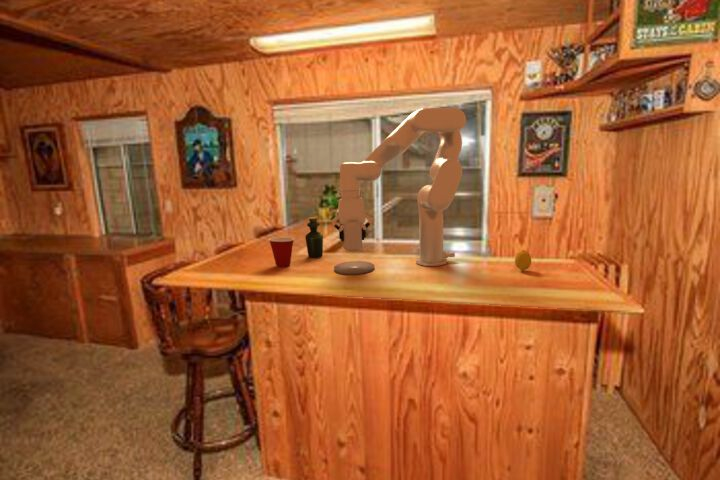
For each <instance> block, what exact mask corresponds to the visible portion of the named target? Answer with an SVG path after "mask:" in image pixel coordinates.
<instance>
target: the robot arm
mask: <svg viewBox="0 0 720 480" xmlns="http://www.w3.org/2000/svg"><path fill="white" fill-rule="evenodd" d="M466 123H467V118H466V115H465V113H464V111H463V110H461V109H460V108H456V107H443V108H442V107H440V108H439V107H437V108H434V107H424V108H420V109H418V110H415V111H413V112H412V113H411V114H409V115H408V116H407V118H405V119H404V120H403V121H402V122H401V123H400V124H399V125H398V126H397V127H396V128H395V129H394V130H393V131H392V132H391V133H390V134H389V135H388V136H387V137H386V138H385V139H384V140H382V142H381V143H380V144H379V145H378V146H377V147H375V149H373V150H372V152H370V154H369V155H367V157H366V158H364V159H363V161H362V162H356V161H355V162H354V161H353V162H352V161H350V162H342V163H340V165H339V173H340V175H339V177H340V180H339V181H340V196H341V198H339V199H338V206H337V207H338V209H337V210H338V211H337V215H336V216H334V218H332V219H331V220H330V223H331V225H332V226H333V227H334V228H335V229H337V231H338V237H339V240H340V241H341V242H343V241H344V236H343V227H344V225H345V224H346V223H347V221H358V222H359V223H360V224H362V241H365V238H367V236H366V234H367V233H366V230H367V229H368V228H369V227H370V225H371V224H372V222H373V220H374V219H373V218H372V217H371V216H369V215H367V214H366V210H365V205H364V201H363V197H362V196H365V191H362V190H361V181H363V182H364V181H365V182H374V181H377V180H378V179H379V178H380V177H381V175H382V169H383V168H384V167H385V166H386V165H387V164H389V163H390V162H392V160H394V159H396V158H398V157H400V156H401V155H403V154H404V153H405V152H406V151H407V150H408V149H409V148H410V147H411V146H412V145H413V144H414V143H415V142H416V141H417V140H418V139H419V138H420V137H421V136H422V135H423V134H425V133H438V136H439V144H438V145H439V146H438V149H437V151H436V153H435V156H434V158H433V162H432V163H431V166H430V168H429V169H430V170H429V177H430V179H432V181H433V182H432V184H427V185H425V186H423V187H421V188H420V190H419V191H418V194H417V200H416V201H417V208H418V219H419V221H418V224H419V225H418V227H419V233H418V234H419V235H418V236H419V257H418V258H416V260H415V262H416V264H417V265H419V266H425V267H439V266H443V265H447V264H448V258H455V256H456V253H455V252H450V251H444V213H443V211H445V210H447V209H448V208H449V207H450V205H451V204H452V202H453V200H454V198H455V194H456V193H457V190H458V188H459V186H460V182H461V181H462V178H463V167H462V165H461V163H460V162H459V157H460V155H461V151H462V147H463V138H462V135H461V132H460V131H461V130H463V128H464V127H465V125H466ZM366 219H367V222H366ZM337 221H338V223H339V224H337V223H336V222H337Z"/></svg>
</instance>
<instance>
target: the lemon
mask: <svg viewBox="0 0 720 480" xmlns="http://www.w3.org/2000/svg"><path fill="white" fill-rule="evenodd" d="M514 264H515V267H516V268H517V269H518V270H520V271H521V272H524V271H526V270H528V269H529V268H530V267H531V265H532V256H531V254H530V252H528V251H526V250H525V249H522V250H520V251H518V252H517V253H516V255H515V258H514Z"/></svg>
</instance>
